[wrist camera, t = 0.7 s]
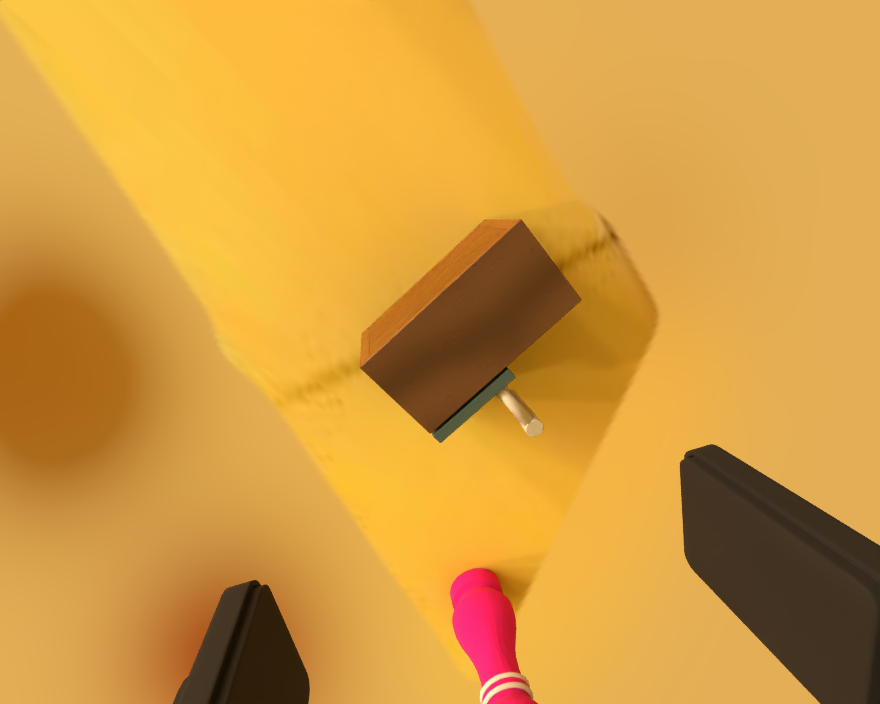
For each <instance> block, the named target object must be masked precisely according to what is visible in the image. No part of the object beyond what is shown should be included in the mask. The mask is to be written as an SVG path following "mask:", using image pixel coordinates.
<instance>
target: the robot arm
mask: <svg viewBox="0 0 880 704" xmlns="http://www.w3.org/2000/svg"><path fill="white" fill-rule="evenodd" d="M680 476H681V477H680V478H681V495H682V515H683V534H684V552H685V556H686V559H687V561H688V563H689V565H690V567H691V568H692V569H693V570H694V572H695V573H696V574H697V575H698V576H699V577H700V578H701V579H702V580H703V581H704V582H705V583H706V584H707V585H708V586H709V587H710V588H711V589H712V590H713V591H714V593H715V594H716V595H717V596H718V597H719V598H720V599H721V600H722V601H723V602H724V603H725V604H726V605H727V606H728V607H729V608H730V609H731V610H732V611H733V613H734V614H735V615H736V616H737V617H738V618H739V619H740V620H741V621H742V622H743V623H744V624H745V625H746V626H747V627H748V628H749V629H750V630H751V631H752V632H753V633H754V634H755V636H756V637H758V639H759V640H760V641H761V642H762V643H763V644H764V645H765V646H766V647H767V648H768V649H769V650H770V651H771V652H772V653H773V654H774V655H775V656H776V657H777V658H778V660H780V662H781V663H782V664H783V665H784V666H785V667H786V668H787V669H788V670H789V671H790V672H791V673H792V674H793V675H794V676H795V677H796V678H797V680H799V682H800V683H801V684H802V685H803V686H804V687H805V688H806V689H807V690H808V691H809V692H810V693H811V694H812V695H813V696H814V697H815V698H816V699H817V700H818V701H819V702H820V704H880V546H879V545H878V544H876V543H875V542H873V541H871V540H870V539H868V538H866V537H865V536H863V535H862V534H860V533H858V532H857V531H855V530H853V529H852V528H850V527H849V526H847V525H845V524H844V523H842V522H840V521H839V520H837V519H836V518H834V517H832V516H831V515H829V514H827V513H826V512H824V511H823V510H821V509H819V508H818V507H816V506H814V505H813V504H811V503H809V502H808V501H806V500H805V499H803V498H801V497H800V496H798V495H797V494H795V493H793V492H791V491H790V490H788V489H787V488H785V487H784V486H782V485H780V484H779V483H777V482H775V481H774V480H772V479H770V478H769V477H767V476H766V475H764V474H762V473H761V472H759V471H757V470H756V469H754V468H753V467H751V466H749V465H748V464H746V463H745V462H743V461H741V460H740V459H738V458H736V457H735V456H733V455H731V454H730V453H728V452H727V451H725V450H723V449H722V448H720V447H718V446H716V445H711V444H710V445H707V446H704V447H700V448H697V449H693V450H690V451H688V452H686V454H685V456H684V460H682V461H681V462H680ZM309 691H310V689H309V678H308V674H307V672H306V669H305V667H304V665H303V663H302V660H301V658H300V656H299V654H298V651H297V649H296V647H295V644H294V642H293V640H292V638H291V635H290V633H289V631H288V629H287V626H286V624H285V622H284V619H283V617H282V615H281V613H280V610H279V608H278V606H277V604H276V602H275V599H274V597H273V595H272V592H271V590H270V588H269V586H268V585H262V586H261V585H260V583H259V582H258V581H256V580H253V581H249V582H246V583H243V584H239V585H236V586H233V587H229V588H227V589H226V590H225V591H224V592H223V594H222V596H221V599H220V601H219V604H218V606H217V608H216V611H215V614H214V616H213V618H212V620H211V623H210V625H209V628H208V630H207V633H206V635H205V637H204V640H203V643H202V645H201V647H200V650H199V652H198V654H197V657H196V660H195V662H194V664H193V667H192V669H191V671H190V674H189V676H188V677H187V678H186V679H185V680H184V681H183V683H182V685H181V687H180V688H179V690H178V692H177V695H176V697H175V700H174V702H173V704H308V702H309Z"/></svg>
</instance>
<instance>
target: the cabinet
mask: <svg viewBox="0 0 880 704" xmlns="http://www.w3.org/2000/svg"><path fill="white" fill-rule="evenodd" d="M580 301H581V298H580V297H579V296H578V294H577V293H576V292H575V290H574V289H573V288H572V286H571V285H570V284H569V282H568V281H567V280H566V278H565V277H564V276H563V274H562V273H561V272H560V270H559V269H558V268H557V266H556V265H555V264H554V262H553V261H552V260H551V258H550V257H549V256H548V254H547V253H546V252H545V250H544V249H543V248H542V246H541V245H540V244H539V242H538V241H537V240H536V238H535V237H534V236H533V234H532V233H531V232H530V230H529V229H528V228H527V226H526V225H525V224H524V222H523V221H522V220H484V221H483V222H482V223H481V224H480V225H479V226H478V227H477V228H475V229H474V230H473V231H472V232H471V233H470V234H469V235H468V236H467V237H466V238H465V239H464V240H463V241H461V242H460V243H459V244H458V245H457V246H456V247H455V248H454V249H453V250H452V251H451V252H450V253H449V254H447V255H446V256H445V257H444V258H443V259H442V260H441V261H440V262H439V263H438V264H437V265H436V266H434V267H433V268H432V269H431V270H430V271H429V272H428V273H427V274H426V275H425V276H424V277H423V278H422V279H420V280H419V281H418V282H417V283H416V284H415V285H414V286H413V287H412V288H411V289H410V290H409V291H407V292H406V293H405V294H404V295H403V296H402V297H401V298H400V299H399V300H398V301H397V302H396V303H395V304H393V305H392V306H391V307H390V308H389V309H388V310H387V311H386V312H385V313H384V314H383V315H382V316H381V317H379V318H378V319H377V320H376V321H375V322H374V323H373V324H372V325H371V326H370V327H369V328H368V329H366V330H365V331H364V332H363V333H362V339H361V358H360V368H361V369H362V370H363V371H364V372H365V373H366V374H367V375H368V376H369V377H370V378H371V379H372V380H373V381H375V382H376V383H377V384H378V385H379V386H380V387H381V388H382V389H383V390H384V391H385V392H386V393H387V394H388V395H389V396H390V397H392V398H393V399H394V400H395V401H396V402H397V403H398V404H399V405H400V406H401V407H402V408H403V409H404V410H405V411H406V412H407V413H409V414H410V415H411V416H412V417H413V418H414V419H415V420H416V421H417V422H418V423H419V424H420V425H421V426H422V427H423V428H425V429H426V430H427V431H428V432H429V433H430V434H431V433H432V432H433V431H434V430H435V429H436V428H437V427H439V426H440V425H441V424H442V423H443V422H444V421H445V420H447V419H448V418H449V417H450V416H451V415H452V414H453V413H454V412H456V411H457V410H458V409H459V408H460V407H461V406H462V405H463V404H465V403H466V402H467V401H468V400H469V399H470V398H471V397H473V396H474V395H475V394H476V393H477V392H478V391H479V390H480V389H482V388H483V387H484V386H485V385H486V384H487V383H488V382H490V381H491V380H492V379H493V378H494V377H495V376H496V375H497V374H499V373H500V372H501V371H502V370H503V369H504V368H505V367H506V366H508V365H509V364H510V363H511V362H512V361H513V360H514V359H516V358H517V357H518V356H519V355H520V354H521V353H522V352H523V351H525V350H526V349H527V348H528V347H529V346H530V345H531V344H533V343H534V342H535V341H536V340H537V339H538V338H539V337H540V336H542V335H543V334H544V333H545V332H546V331H547V330H548V329H549V328H551V327H552V326H553V325H554V324H555V323H556V322H557V321H559V320H560V319H561V318H562V317H563V316H564V315H565V314H566V313H568V312H569V311H570V310H571V309H572V308H573V307H574V306H576V305H577V304H578V303H579V302H580Z"/></svg>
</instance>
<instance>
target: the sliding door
mask: <svg viewBox="0 0 880 704" xmlns="http://www.w3.org/2000/svg"><path fill="white" fill-rule="evenodd" d="M514 378H515V376H514V374H513V373H512V372H511V371H510V370H509V369H508V368H507V367H505V368H504V369H503V370H502V371H501V372H500V373H499V374H497V375H496V376H495V377H494V378H493V379H492V380H491V381H490V382H488V383H487V384H486V385H485V386H484V387H483V388H482V389H480V390H479V391H478V392H477V393H476V394H475V395H474V396H473V397H471V398H470V399H469V400H468V401H467V402H466V403H465V404H463V405H462V406H461V407H460V408H459V409H458V410H457V411H456V412H454V413H453V414H452V415H451V416H450V417H449V418H448V419H447V420H445V421H444V422H443V423H442V424H441V425H440V426H439V427H437V428H436V429H435V430H434V431H433V432H432V435H433V437H434V438H436V439H437V440H438V441H439V442H440V443H441V442H443V441H444V440H445V439H446V438H447V437H448V436H449V435H450V434H452V433H453V432H454V431H455V430H456V429H457V428H458V427H460V426H461V425H462V424H463V423H464V422H465V421H466V420H468V419H469V418H470V417H471V416H472V415H473V414H474V413H475V412H477V411H478V410H479V409H480V408H481V407H482V406H483V405H485V404H486V403H487V402H488V401H489V400H490V399H491V398H493V397H494V396H495V395H496V396H497V397H498V398H499V399H500V400H501V401H502V402H503V403H504V404H505V405H506V406H507V408H508V409H509V410H510V412H511V413H512V414H513V416H514V417H515V418H516V420H517V421H518V422H519V424H520V425H521V426H522V428H523V429H524V430H525V432H526V433H527V434H528V435H529V436H531V437H536V436H539V435H540V434H541V433H542V432H543V429H544V425H543V423H542V422H541V421H540V419H539V418H538V417H537V416H536V415H535V414H534V412H533V411H532V410H531V409H530V408H529V407H528V406H527V404H526V403H525V402H524V401H523V400H522V399H521V397H520V396H519V395H518V394H517V393H516V392H515V391H514V390H512V389H509V388H508V387H507V386H506V385H507V384H508V383H510V382H511V381H512V380H513V379H514Z"/></svg>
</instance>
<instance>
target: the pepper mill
mask: <svg viewBox="0 0 880 704" xmlns="http://www.w3.org/2000/svg"><path fill="white" fill-rule="evenodd" d="M450 595H451V600H452V604H453V608H454V613H453V617H452V623H453V628H454V632H455V635H456V638H457V640H458V642H459V644H460V645H461V647H462V649H463V650H464V651H465V653H466V654H467V655H468V656H469V658H470V659H471V661H472V662H473V664H474V666H475V668H476V670H477V672H478V675H479V678H480V681H481V685H482V689H481V692H480V701H481V704H538V703H536V702H535V701H534V700H533V693H532V691H531V689H530V685H529V682H528V680H527V679H526V677H525V676H523V675H521V673H520V670H519V667H518V663H517V659H516V652H515V641H516V619H515V614H514V610H513V607H512V604H511V602H510V601H509V599H508V598H507V597H506V596H505V595H504V594H502V589H501V586H500V583H499V581H498V578H497V577H496V575H495V574H494V573H492V572H491V571H489V570H486V569H472V570H468V571H466V572H464V573H462V574H461V575H460V576H458V577H457V579H456V580H455V581H454V582H453V584H452V586H451V591H450Z"/></svg>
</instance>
